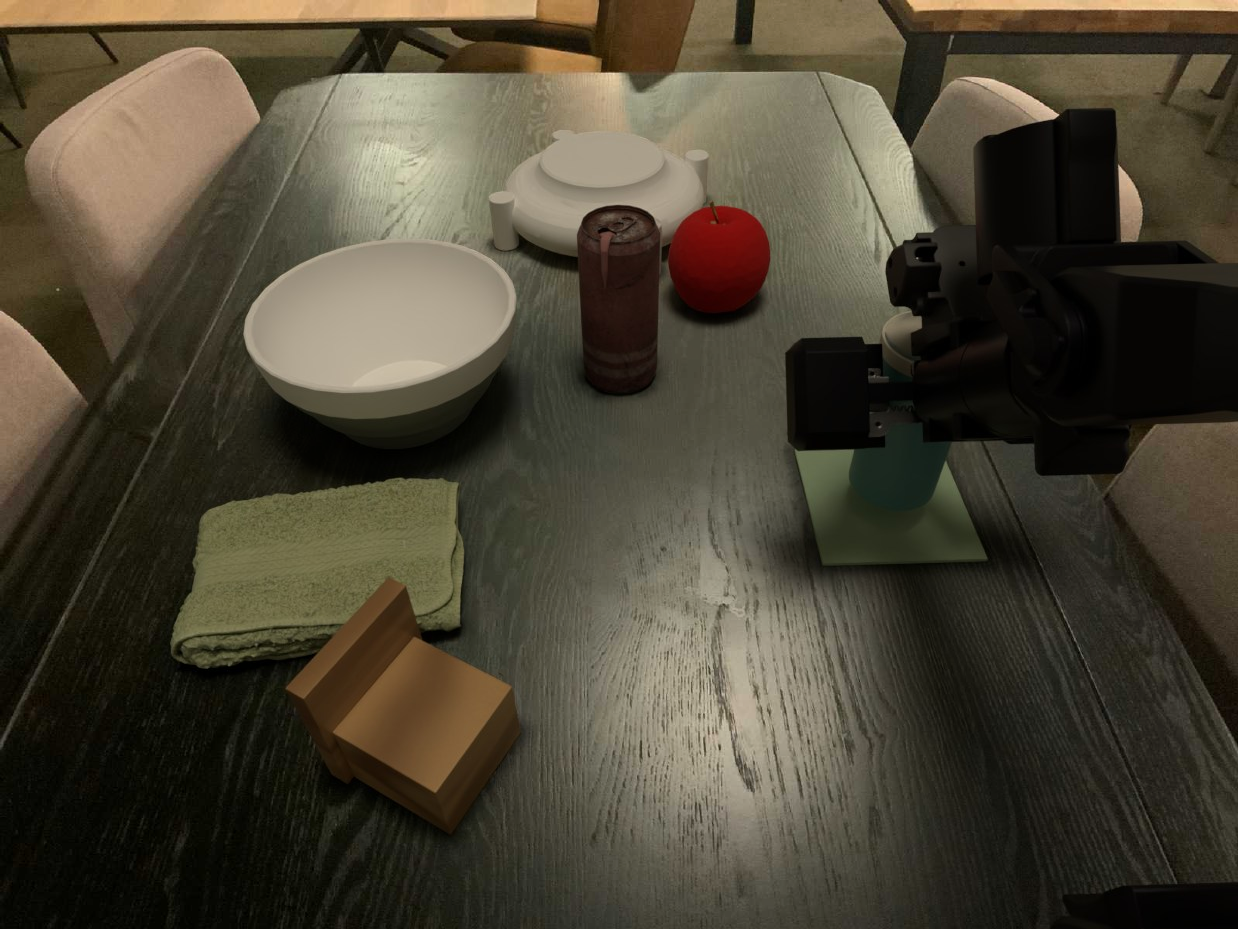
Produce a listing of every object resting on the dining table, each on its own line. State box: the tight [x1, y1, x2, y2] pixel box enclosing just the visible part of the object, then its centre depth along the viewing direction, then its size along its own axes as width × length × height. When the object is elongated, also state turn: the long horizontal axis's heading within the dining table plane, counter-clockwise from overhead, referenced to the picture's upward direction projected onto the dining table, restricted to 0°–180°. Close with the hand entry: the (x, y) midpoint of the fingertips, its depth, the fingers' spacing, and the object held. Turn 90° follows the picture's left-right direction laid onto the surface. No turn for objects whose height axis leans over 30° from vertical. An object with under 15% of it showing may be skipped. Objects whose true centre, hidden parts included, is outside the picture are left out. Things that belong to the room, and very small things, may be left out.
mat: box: [793, 448, 989, 567], centre depth 61 cm, size 11×11×1 cm
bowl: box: [243, 237, 518, 450], centre depth 66 cm, size 20×20×10 cm
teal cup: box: [849, 310, 953, 511], centre depth 55 cm, size 6×6×12 cm
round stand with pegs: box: [488, 129, 710, 276], centre depth 87 cm, size 24×24×7 cm
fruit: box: [667, 199, 771, 314], centre depth 76 cm, size 9×9×10 cm
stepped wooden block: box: [285, 577, 521, 835], centre depth 45 cm, size 8×8×9 cm
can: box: [577, 205, 660, 395], centre depth 67 cm, size 6×6×14 cm
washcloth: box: [170, 477, 465, 670], centre depth 56 cm, size 13×18×3 cm
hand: (905, 403), depth 56 cm, fingers closed on teal cup, 6 cm apart
